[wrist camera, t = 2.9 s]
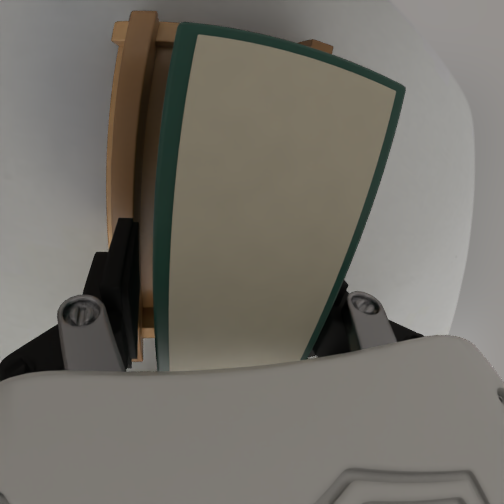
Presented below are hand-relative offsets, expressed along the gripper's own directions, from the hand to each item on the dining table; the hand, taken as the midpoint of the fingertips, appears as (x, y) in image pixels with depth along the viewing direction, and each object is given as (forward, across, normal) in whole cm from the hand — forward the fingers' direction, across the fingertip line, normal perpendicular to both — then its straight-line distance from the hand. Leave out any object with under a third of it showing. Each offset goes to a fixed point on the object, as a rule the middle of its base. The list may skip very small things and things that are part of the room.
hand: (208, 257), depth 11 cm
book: (+6, 0, 0) cm, 6 cm away
